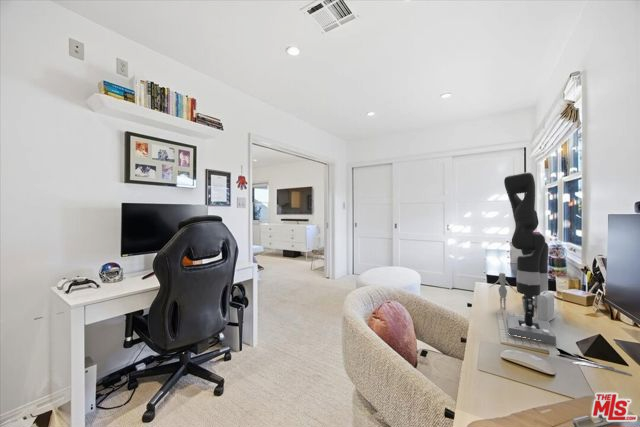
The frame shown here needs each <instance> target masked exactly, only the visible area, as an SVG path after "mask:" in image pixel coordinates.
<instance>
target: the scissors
mask: <svg viewBox="0 0 640 427" xmlns="http://www.w3.org/2000/svg"><path fill="white" fill-rule="evenodd" d="M555 349H556V350H557V353H558V356H560V357H564V358H569V359H573V360H575V361H572V363H573V364H577V365H582V366H587V367H593V368H600V369H604V370H605V369H606V370H610V371H613V372H616V373H620V374H624V375H627V376H631V377H633V374H631V373H629V372H627V371H624V370H622V369H618V368H615V367H613V366H611V365H607V364H600V363H599V362H596V361H593V360H591V359H589V358H587V357H585V356H583V355H582V356H581V355H579V354H575V353H572V354H571V353H570V352H568V351H566V350H564V349H561V348H558V347H555Z"/></svg>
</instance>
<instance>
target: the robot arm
mask: <svg viewBox="0 0 640 427" xmlns="http://www.w3.org/2000/svg"><path fill="white" fill-rule="evenodd" d="M503 182H504V187H505V192H506V195H507V196H508V200H509V202H510V206H511V209H512V216H513V219H514V223H515V227H514V231H513V235H512V238H511V245H512V246H513V248H515V249H517V250H520V251H521V254H522V255H519V256H518V257H517V258H516V262H517V263H516V265H517V267H516V269H517V270H516V292H517V293H519V294H521V295H523V296H521V302H522V308H523V313H524V318H525V324H526V325H527V326H533V319H534V317H535V312H536V311H535V310H536V309H535V307H537V297H538V295H540V293H541V292H543V291H548V292H549V279H548V276H549V273H548V272H549V270H548V269H549V265H548V264H549V245H548V243H547V242H546V238H545V236H544V235H543V233H540V232H534V231H535V230H536V229H537V228H538V226H539V217H538V213H537V211H536V208H535V207H536V204H535V203H536V183H535V182H536V181H535V177H534V174H533V173H531V171H530V172H529V171H528V172H521V173H516V174H510V175H507V176H505V177H504V181H503ZM524 193H525V196H524V197H523V199H521V198H520V196H519V194H524ZM527 312H530V313H527Z"/></svg>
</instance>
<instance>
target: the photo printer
mask: <svg viewBox="0 0 640 427" xmlns="http://www.w3.org/2000/svg"><path fill="white" fill-rule="evenodd" d="M536 308H537V309H536V310H537V311H536V313H537V320H542V321H548V322H550V321H551V320H553V319H554V318H555V316H556V315H555V295H554V294H553V292H551V291H549V290H548V291H543V292H541V293H540V295H538V297H537V306H536Z"/></svg>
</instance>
